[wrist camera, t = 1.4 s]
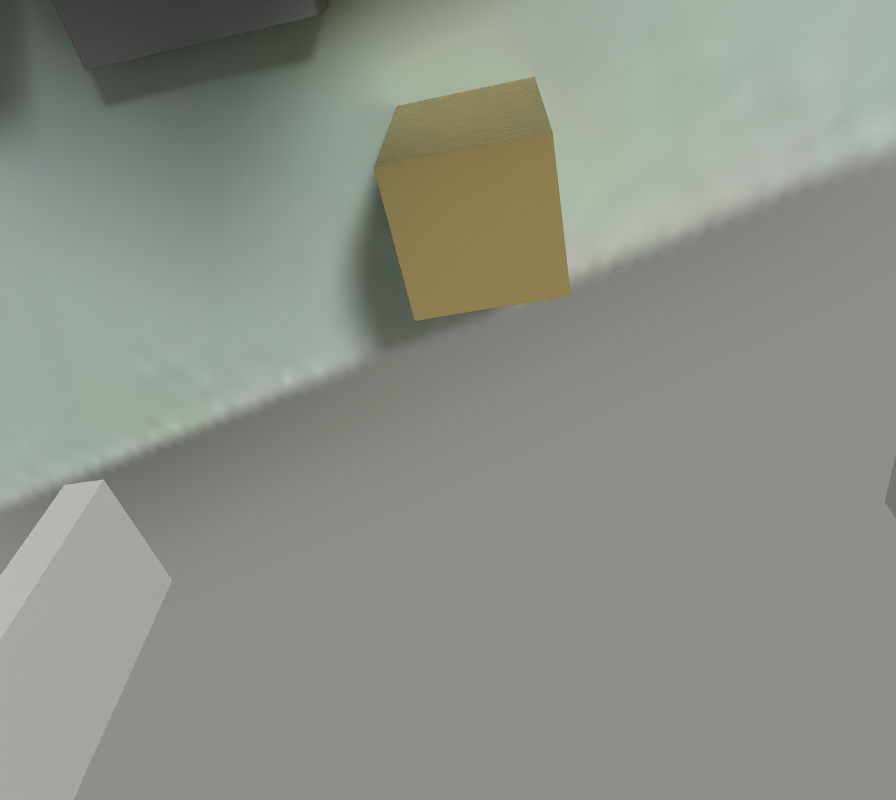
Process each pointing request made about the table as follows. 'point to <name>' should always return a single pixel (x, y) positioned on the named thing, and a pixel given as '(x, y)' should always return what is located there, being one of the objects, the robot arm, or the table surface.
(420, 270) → the tan rectangular block
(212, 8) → the dark grey block
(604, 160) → the table surface
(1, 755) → the robot arm
